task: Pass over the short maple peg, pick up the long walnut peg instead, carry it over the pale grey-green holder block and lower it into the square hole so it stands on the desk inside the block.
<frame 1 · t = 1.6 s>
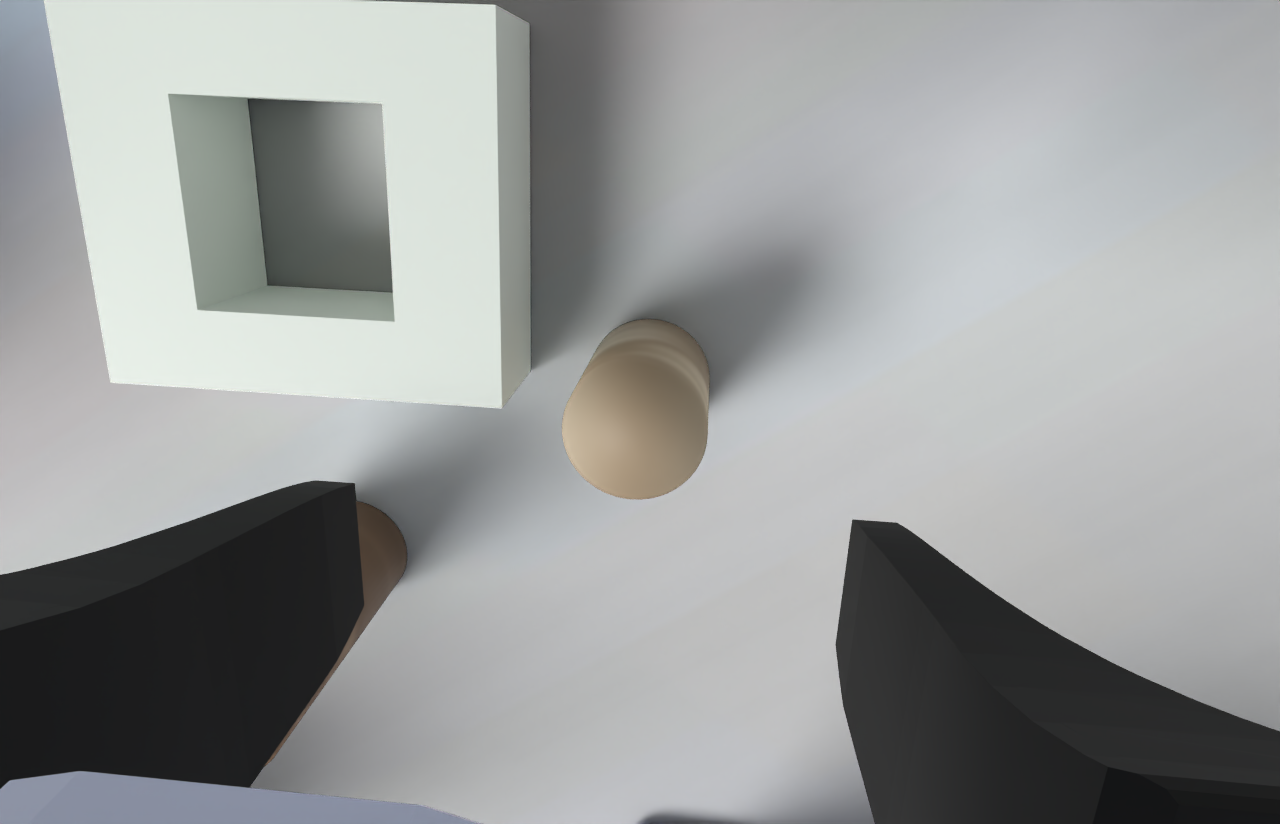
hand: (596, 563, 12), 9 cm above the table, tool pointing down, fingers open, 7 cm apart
holder block: (345, 199, 20), on the table
short maple peg: (649, 377, 21), on the table
long walnut peg: (354, 549, 23), on the table
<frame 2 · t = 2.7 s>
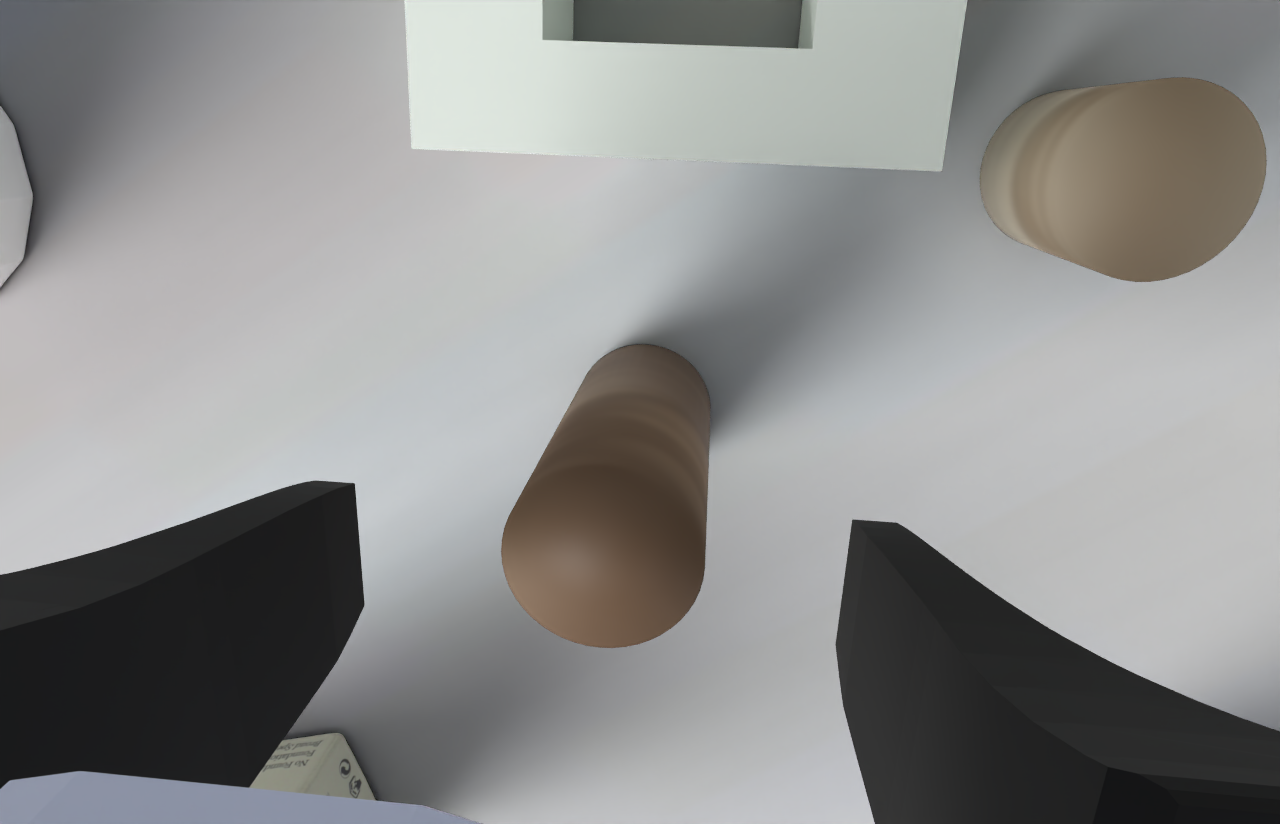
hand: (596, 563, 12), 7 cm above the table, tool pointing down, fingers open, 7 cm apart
skincare box: (277, 799, 24), on the table
short maple peg: (1058, 171, 16), on the table
long walnut peg: (643, 409, 19), on the table
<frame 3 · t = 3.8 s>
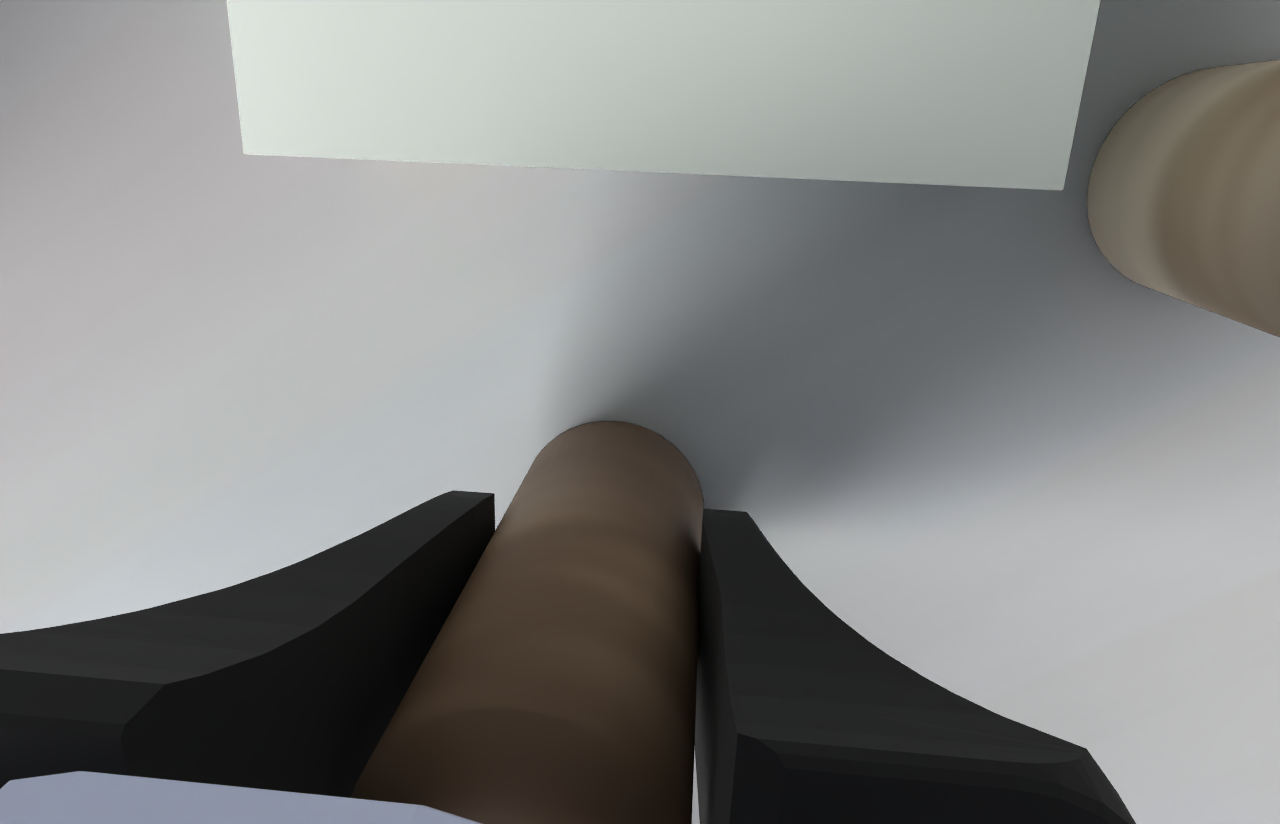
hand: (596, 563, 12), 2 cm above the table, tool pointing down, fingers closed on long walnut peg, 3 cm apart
short maple peg: (1201, 184, 11), on the table
long walnut peg: (612, 506, 14), on the table, touching gripper
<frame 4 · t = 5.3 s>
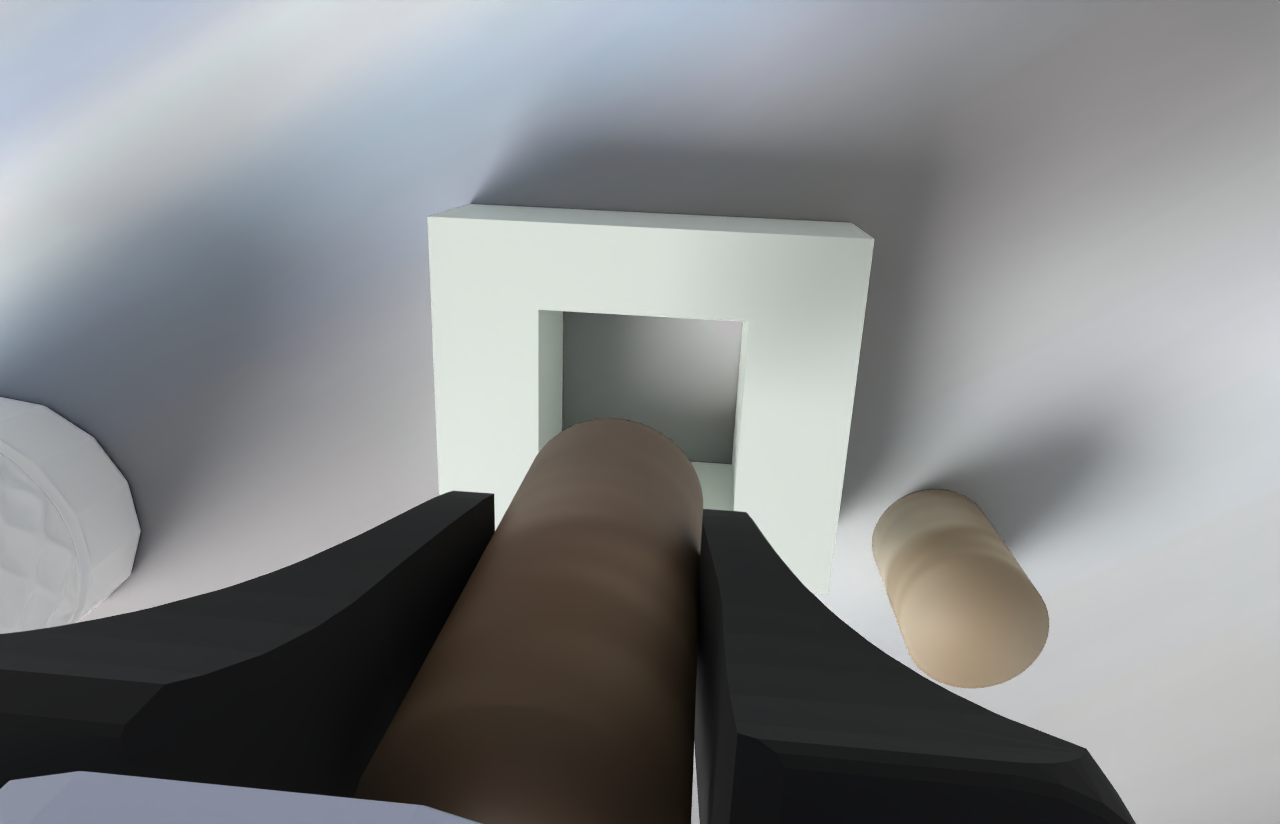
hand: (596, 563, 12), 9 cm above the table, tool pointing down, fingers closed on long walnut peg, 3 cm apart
holder block: (649, 376, 21), on the table
short maple peg: (931, 542, 22), on the table
long walnut peg: (613, 503, 14), point 7 cm above the table, touching gripper
white cup: (35, 503, 24), on the table
when the fingers open (4 cm above the table, at t = 6.7 s): long walnut peg drops 2 cm, resting in holder block.
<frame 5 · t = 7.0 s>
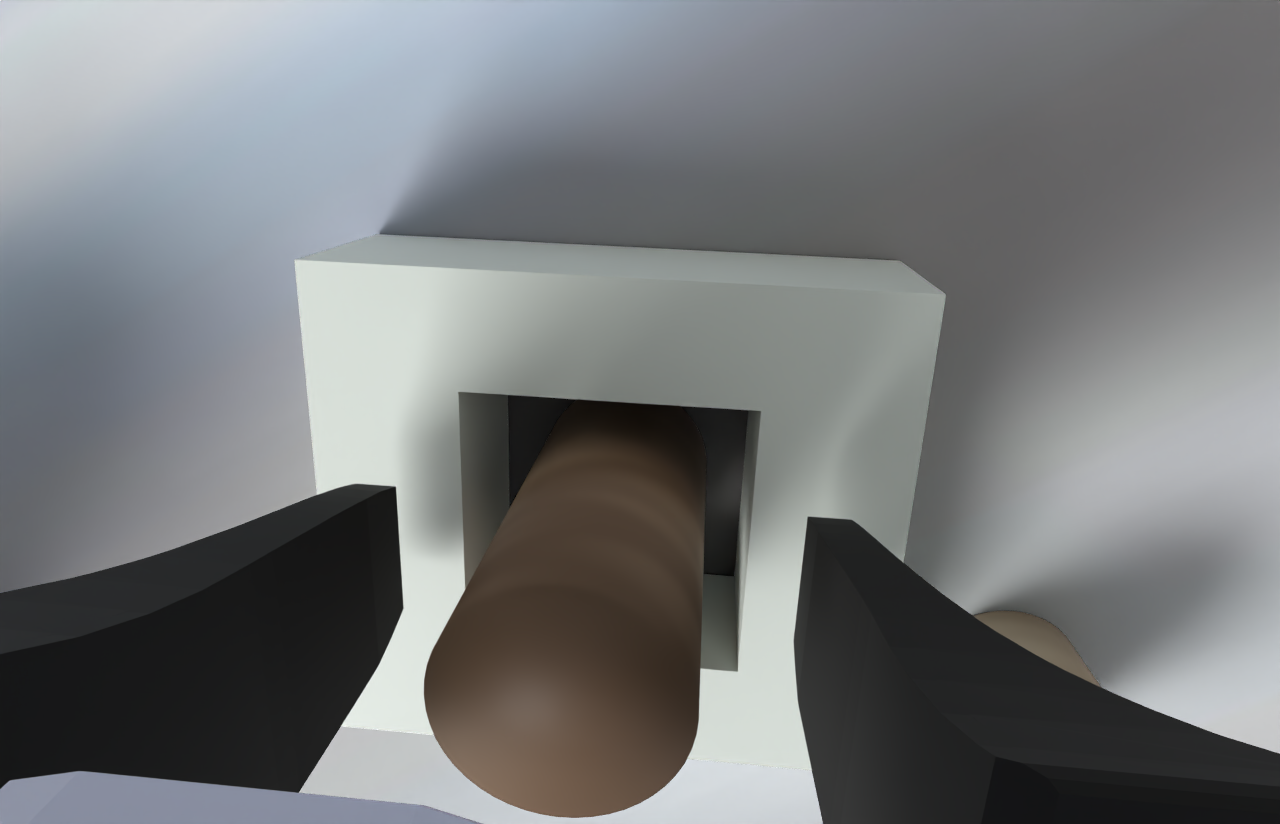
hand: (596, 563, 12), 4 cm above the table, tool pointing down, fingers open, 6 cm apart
holder block: (624, 463, 16), on the table
short maple peg: (998, 677, 16), on the table
long walnut peg: (626, 462, 16), resting in holder block
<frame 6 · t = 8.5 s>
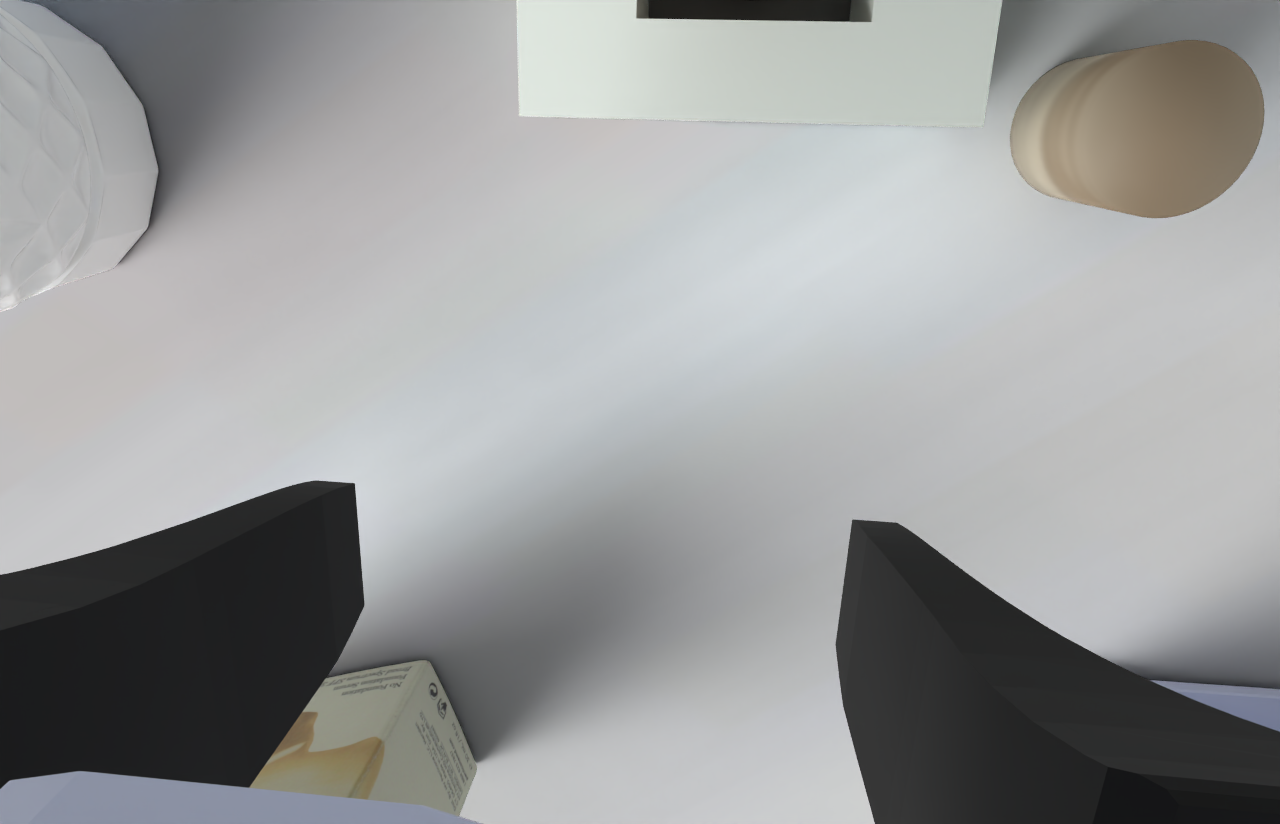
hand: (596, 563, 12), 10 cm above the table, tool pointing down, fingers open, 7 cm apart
skincare box: (365, 726, 26), on the table
short maple peg: (1080, 130, 19), on the table
white cup: (37, 147, 21), on the table
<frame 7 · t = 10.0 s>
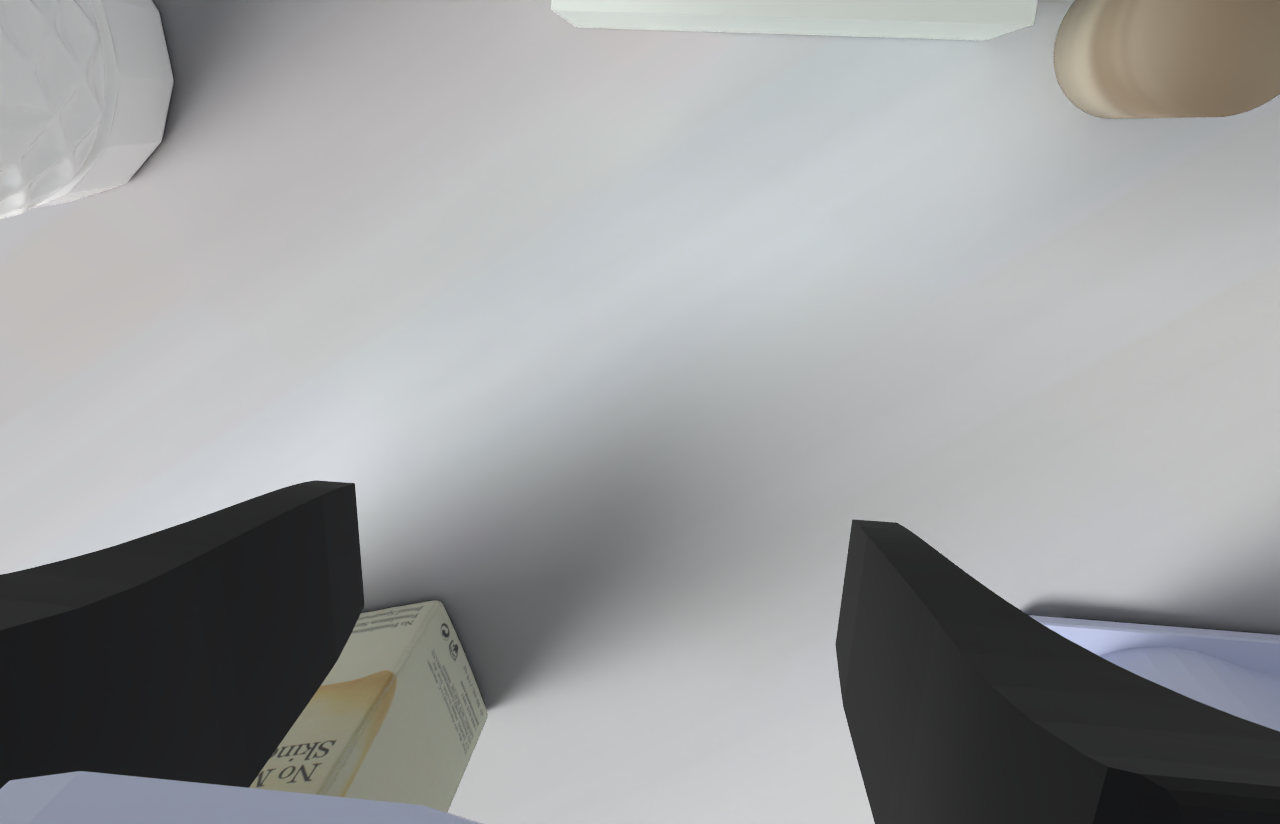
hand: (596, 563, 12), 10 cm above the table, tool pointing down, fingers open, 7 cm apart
skincare box: (374, 670, 25), on the table
short maple peg: (1126, 45, 18), on the table
white cup: (49, 56, 20), on the table
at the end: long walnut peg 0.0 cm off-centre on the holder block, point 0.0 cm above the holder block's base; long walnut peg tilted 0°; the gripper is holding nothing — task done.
